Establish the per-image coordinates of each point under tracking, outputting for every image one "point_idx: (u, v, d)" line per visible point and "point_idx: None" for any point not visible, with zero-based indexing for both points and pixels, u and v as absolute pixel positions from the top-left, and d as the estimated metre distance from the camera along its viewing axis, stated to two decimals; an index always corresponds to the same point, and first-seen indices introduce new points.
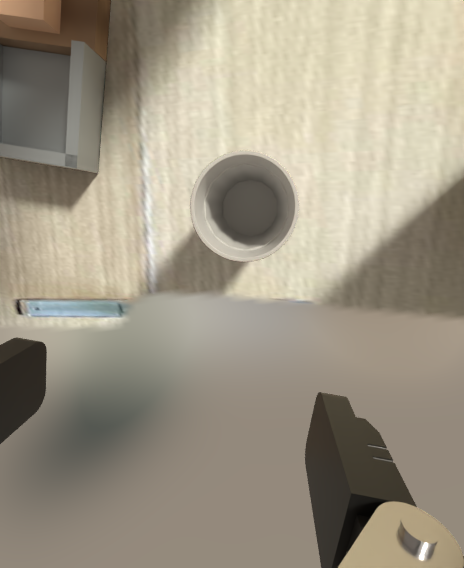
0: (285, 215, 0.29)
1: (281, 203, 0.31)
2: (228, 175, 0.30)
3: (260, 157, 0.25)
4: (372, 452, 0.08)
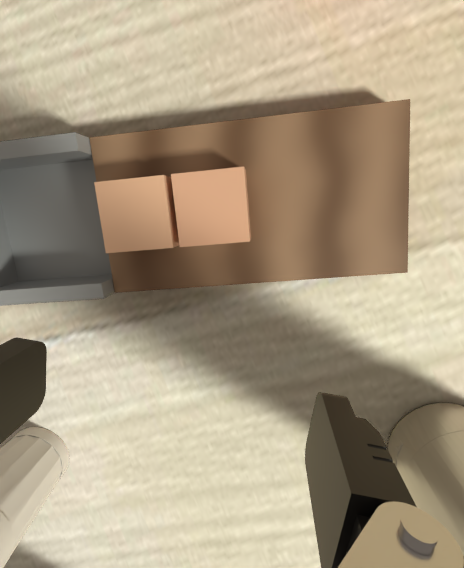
0: None
1: None
2: None
3: None
4: (372, 452, 0.08)
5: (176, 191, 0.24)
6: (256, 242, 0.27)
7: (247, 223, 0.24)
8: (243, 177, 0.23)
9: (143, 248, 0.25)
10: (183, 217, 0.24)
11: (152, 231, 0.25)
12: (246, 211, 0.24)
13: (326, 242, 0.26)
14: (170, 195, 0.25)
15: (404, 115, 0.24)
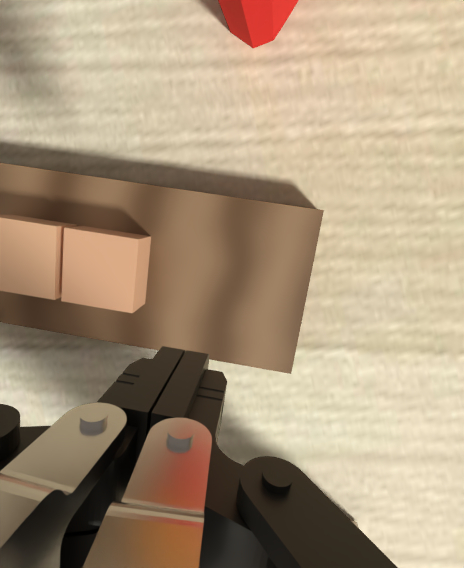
0: None
1: None
2: None
3: None
4: (208, 393, 0.09)
5: (66, 245, 0.23)
6: (149, 309, 0.26)
7: (133, 295, 0.23)
8: (136, 249, 0.22)
9: (24, 293, 0.24)
10: (69, 273, 0.23)
11: (36, 279, 0.23)
12: (133, 283, 0.23)
13: (218, 325, 0.26)
14: None
15: (315, 224, 0.23)
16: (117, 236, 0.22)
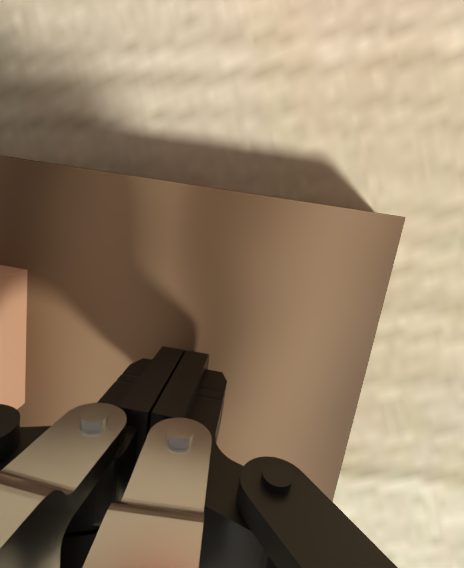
0: None
1: None
2: None
3: None
4: (208, 393, 0.09)
5: None
6: (34, 414, 0.13)
7: None
8: None
9: None
10: None
11: None
12: None
13: None
14: None
15: (384, 248, 0.10)
16: None
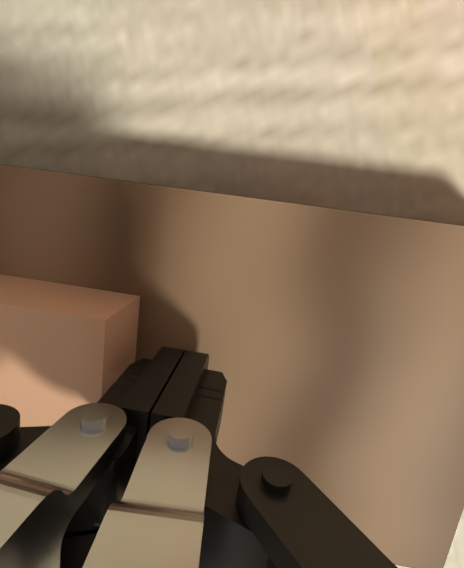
0: None
1: None
2: None
3: None
4: (208, 393, 0.09)
5: None
6: None
7: None
8: (100, 345, 0.09)
9: None
10: None
11: None
12: None
13: None
14: None
15: None
16: (53, 311, 0.09)
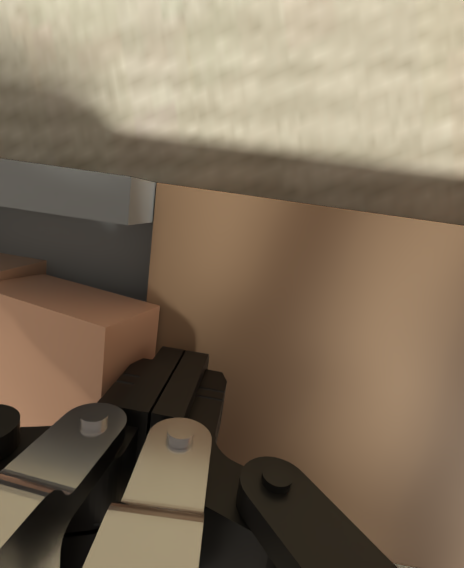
0: None
1: None
2: None
3: None
4: (208, 393, 0.09)
5: None
6: None
7: None
8: (100, 351, 0.09)
9: None
10: None
11: None
12: None
13: None
14: None
15: None
16: (65, 314, 0.09)
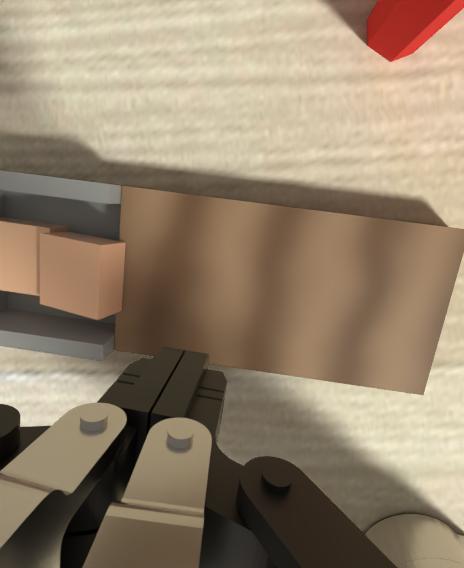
0: None
1: None
2: None
3: None
4: (208, 394, 0.09)
5: (42, 250, 0.23)
6: (277, 333, 0.25)
7: (98, 301, 0.23)
8: (99, 255, 0.22)
9: (20, 291, 0.25)
10: (45, 277, 0.24)
11: (31, 277, 0.25)
12: (98, 290, 0.22)
13: (349, 348, 0.25)
14: None
15: (460, 244, 0.23)
16: (83, 242, 0.22)
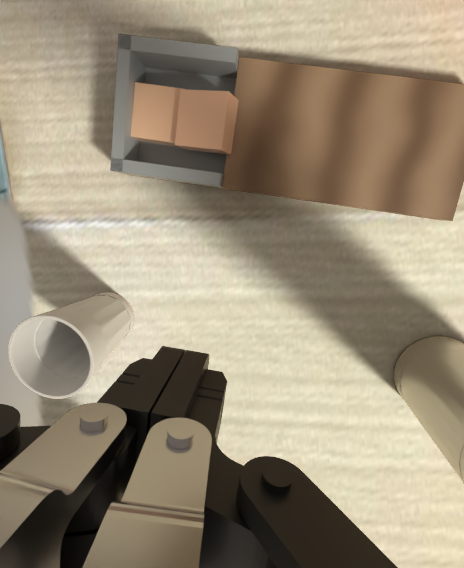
0: (72, 371, 0.35)
1: None
2: None
3: (90, 370, 0.31)
4: (208, 393, 0.09)
5: (181, 102, 0.33)
6: (345, 171, 0.34)
7: (222, 135, 0.32)
8: (227, 99, 0.31)
9: (158, 139, 0.35)
10: (181, 123, 0.33)
11: (167, 128, 0.34)
12: (223, 126, 0.32)
13: (398, 183, 0.34)
14: None
15: None
16: (214, 91, 0.32)
